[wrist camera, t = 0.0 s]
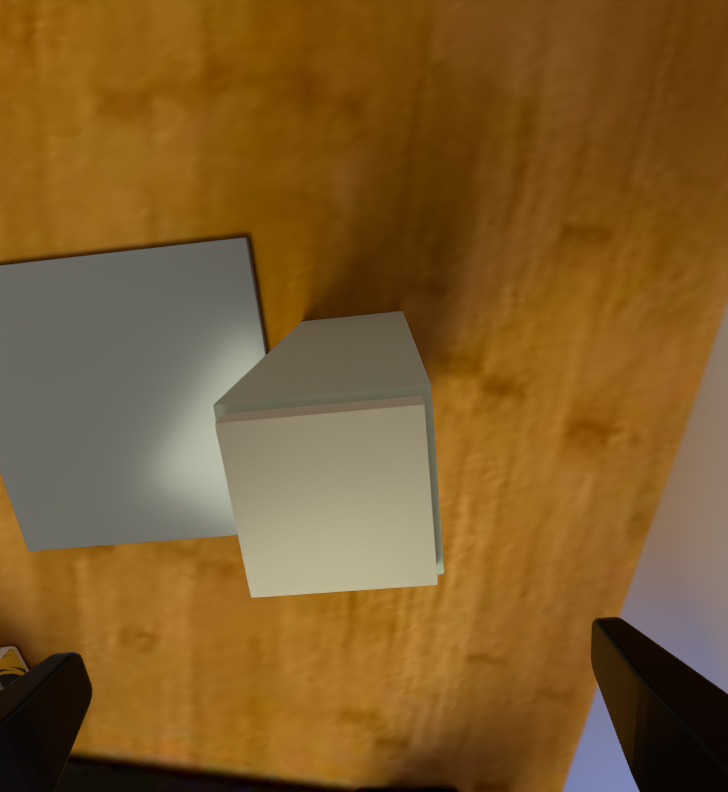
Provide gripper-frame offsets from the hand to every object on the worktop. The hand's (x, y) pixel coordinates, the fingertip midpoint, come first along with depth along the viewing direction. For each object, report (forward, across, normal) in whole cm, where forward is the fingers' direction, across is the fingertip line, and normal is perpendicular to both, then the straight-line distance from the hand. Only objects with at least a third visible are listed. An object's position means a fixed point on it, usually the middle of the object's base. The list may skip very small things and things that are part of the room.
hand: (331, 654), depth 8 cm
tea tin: (+15, 0, -2) cm, 15 cm away
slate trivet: (+15, +11, -1) cm, 18 cm away
